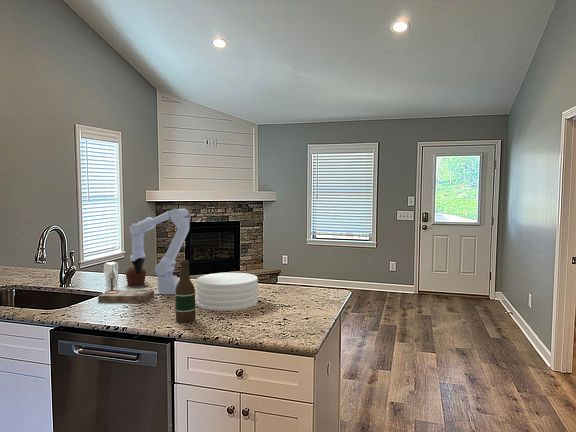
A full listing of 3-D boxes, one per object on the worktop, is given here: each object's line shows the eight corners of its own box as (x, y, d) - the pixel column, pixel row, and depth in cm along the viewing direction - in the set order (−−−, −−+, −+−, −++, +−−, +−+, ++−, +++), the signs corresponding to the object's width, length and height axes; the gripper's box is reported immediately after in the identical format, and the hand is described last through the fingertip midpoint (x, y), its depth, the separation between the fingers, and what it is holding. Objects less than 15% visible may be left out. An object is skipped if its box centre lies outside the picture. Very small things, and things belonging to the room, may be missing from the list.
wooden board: (154, 296, 214) (153, 290, 214) (144, 302, 203) (144, 296, 202) (110, 296, 216) (110, 290, 215) (98, 302, 204) (98, 295, 204)
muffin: (121, 284, 243) (121, 266, 243) (141, 281, 251) (140, 264, 250) (130, 287, 234) (130, 269, 234) (150, 284, 242) (149, 266, 241)
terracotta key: (118, 297, 211) (118, 291, 211) (114, 299, 207) (114, 293, 207) (110, 297, 212) (110, 291, 211) (106, 299, 208) (106, 292, 207)
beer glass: (113, 294, 220) (112, 264, 219) (101, 293, 221) (100, 264, 220) (121, 291, 226) (120, 262, 226) (109, 290, 228) (108, 261, 227)
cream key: (146, 297, 211) (146, 291, 210) (143, 299, 207) (143, 293, 206) (138, 297, 211) (138, 291, 211) (135, 299, 207) (135, 293, 207)
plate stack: (220, 293, 221) (219, 270, 221) (268, 299, 209) (268, 275, 208) (183, 306, 196) (183, 281, 196) (236, 313, 184) (236, 287, 183)
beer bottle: (177, 317, 178) (176, 259, 176) (196, 317, 178) (195, 258, 177) (173, 323, 170) (172, 262, 169) (194, 323, 171) (193, 262, 169)
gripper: (135, 245, 232) (136, 270, 233) (124, 248, 218) (124, 275, 219) (148, 245, 232) (149, 270, 233) (138, 248, 217) (138, 275, 218)
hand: (138, 273), depth 226 cm, fingers closed
